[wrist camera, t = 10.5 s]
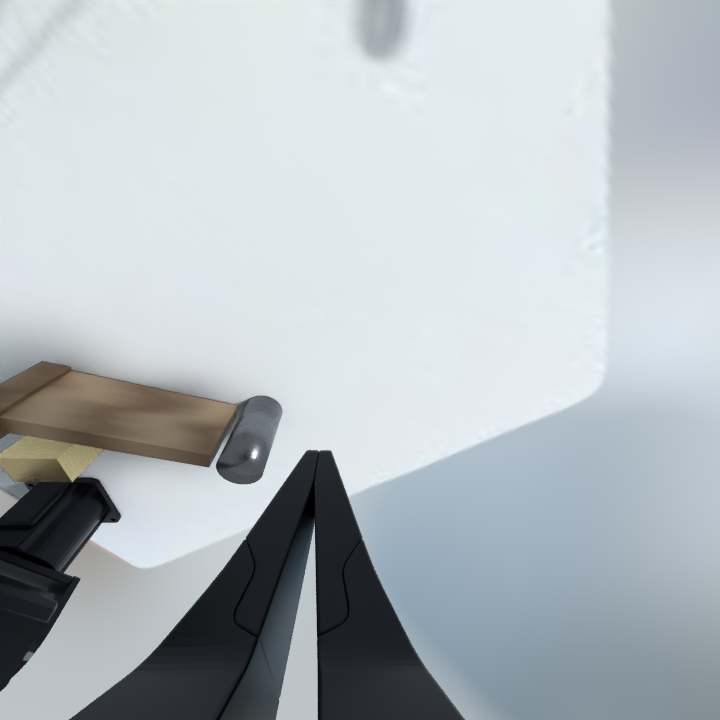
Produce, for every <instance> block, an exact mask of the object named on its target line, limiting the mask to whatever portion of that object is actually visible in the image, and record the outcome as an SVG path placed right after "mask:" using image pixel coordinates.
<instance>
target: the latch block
mask: <svg viewBox="0 0 720 720" xmlns="http://www.w3.org/2000/svg"><path fill="white" fill-rule="evenodd" d="M103 450H104V449H100V448H94V447H88V446H82V445H77V444H71V443H65V442H59V441H54V440H48V439H42V438H36V437H30V436H23V437H22V438H21V439H19V440H18V441H17V442H15V443H14V444H13V445H11V446H10V447H8V448H7V449H6V450H4V451H3V452H2V453H0V466H1V467H2V468H3V469H4V471H5V472H6V473H7V474H8V475H9V476H10V478H11V479H12V480H13V481H14V482H73V481H74V480H75V479H76V478H77V477H78V476H79V475H80V474H81V473H82V472H83V471H84V470H85V469H86V468H87V467H88V466H89V465H90V464H91V463H92V462H93V461H94V460H95V459H96V457H97V456H98V455H99V454H100V453H101V452H102V451H103Z"/></svg>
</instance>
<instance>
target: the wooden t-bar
mask: <svg viewBox="0 0 720 720" xmlns="http://www.w3.org/2000/svg"><path fill="white" fill-rule="evenodd" d="M236 411H237V405H232V404H227V403H222V402H218V401H213V400H208V399H203V398H198V397H194V396H189V395H184V394H179V393H175V392H170V391H165V390H160V389H156V388H151V387H146V386H141V385H137V384H132V383H127V382H122V381H118V380H113V379H108V378H103V377H99V376H94V375H89V374H84V373H80V372H75V371H72V370H71V367H67V366H62V365H57V364H52V363H48V362H43V361H42V362H40V363H39V364H37V365H35V366H33V367H31V368H29V369H27V370H25V371H24V372H22V373H20V374H18V375H16V376H14V377H12V378H11V379H9V380H7V381H5V382H3V383H1V384H0V439H1V438H2V437H4V436H5V435H7V434H8V433H13V434H19V435H25V436H30V437H36V438H42V439H48V440H54V441H59V442H65V443H71V444H77V445H82V446H88V447H94V448H100V449H106V450H111V451H117V452H123V453H129V454H134V455H140V456H146V457H152V458H158V459H163V460H169V461H175V462H181V463H186V464H192V465H198V466H204V467H210V465H211V463H212V461H213V459H214V457H215V455H216V453H217V451H218V450H219V448H220V446H221V444H222V442H223V440H224V438H225V436H226V434H227V432H228V431H229V429H230V427H231V425H232V423H233V421H234V419H235V417H236Z"/></svg>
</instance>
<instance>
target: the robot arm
mask: <svg viewBox="0 0 720 720" xmlns="http://www.w3.org/2000/svg"><path fill="white" fill-rule="evenodd" d="M25 485H26V487H27V488H28V489H29V490H30V491H29V492H28V493H27V494H26V495H25V496H24V497H22V498H21V499H20V500H19V501H18V502H17V503H16V504H15V505H14V506H13V507H12V508H10V509H9V510H8V511H7V512H6V513H5V514H4V515H3V516H2V517H1V518H0V691H1V690H3V689H4V688H5V687H6V686H7V684H8V683H9V681H10V679H11V678H12V677H13V676H14V675H15V674H16V673H17V672H18V671H19V670H20V669H21V668H22V667H23V666H24V665H25V664H26V663H27V662H28V660H29V659H30V658H31V657H32V656H33V654H34V653H35V652H36V650H37V649H38V648H39V647H40V645H41V644H42V642H43V641H44V639H45V638H46V637H47V635H48V633H49V632H50V630H51V628H52V627H53V625H54V623H55V622H56V620H57V618H58V617H59V615H60V613H61V611H62V610H63V608H64V606H65V605H66V603H67V601H68V600H69V598H70V596H71V594H72V593H73V591H74V589H75V588H76V586H77V584H78V582H79V581H80V578H79V577H76V576H74V577H72V576H69V575H67V574H64V572H65V571H66V569H67V568H68V567H69V565H70V564H71V563H72V561H73V560H74V559H75V557H76V556H77V555H78V553H79V552H80V551H81V549H82V548H83V547H84V546H85V544H86V543H87V542H88V540H89V539H90V538H91V537H92V535H93V534H94V533H95V531H96V530H97V529H98V527H99V526H100V525H101V523H116V522H118V521H119V520H120V518H121V516H120V514H119V512H118V511H117V509H116V507H115V506H114V504H113V503H112V501H111V499H110V498H109V496H108V495H107V493H106V491H105V490H104V488H103V486H102V485H101V483H100V482H99V481H98V480H96V479H75V480H74V481H73V482H25ZM314 524H315V551H316V552H315V553H316V603H317V655H318V656H317V658H318V720H465V719H464V718H463V717H462V715H461V714H460V712H459V711H458V710H457V709H456V707H455V706H454V704H453V703H452V702H451V700H450V699H449V698H448V697H447V695H446V694H445V693H444V691H443V690H442V689H441V687H440V686H439V685H438V683H437V682H436V681H435V679H434V678H433V677H432V675H431V674H430V673H429V671H428V670H427V669H426V667H425V666H424V664H423V663H422V661H421V660H420V658H419V656H418V654H417V653H416V651H415V649H414V648H413V646H412V644H411V642H410V640H409V638H408V636H407V635H406V633H405V631H404V629H403V627H402V625H401V623H400V621H399V619H398V617H397V615H396V613H395V611H394V609H393V607H392V605H391V603H390V601H389V599H388V597H387V595H386V593H385V591H384V589H383V587H382V584H381V582H380V580H379V578H378V576H377V574H376V571H375V569H374V567H373V564H372V562H371V560H370V556H369V554H368V552H367V549H366V546H365V543H364V541H363V540H362V535H361V532H360V529H359V527H358V524H357V521H356V518H355V516H354V513H353V510H352V507H351V504H350V502H349V499H348V496H347V493H346V490H345V488H344V485H343V482H342V479H341V476H340V474H339V471H338V468H337V465H336V463H335V460H334V457H333V454H332V452H331V451H330V450H321V451H318V450H307V451H306V452H305V454H304V455H303V457H302V458H301V459H300V461H299V462H298V464H297V465H296V467H295V468H294V469H293V471H292V472H291V474H290V475H289V477H288V478H287V479H286V481H285V482H284V484H283V485H282V487H281V488H280V489H279V491H278V492H277V494H276V495H275V497H274V498H273V499H272V501H271V502H270V504H269V505H268V507H267V508H266V509H265V511H264V512H263V514H262V515H261V517H260V518H259V519H258V521H257V522H256V524H255V525H254V527H253V528H252V529H251V531H250V532H249V534H248V535H247V537H246V540H244V541H243V542H242V544H241V545H240V546H239V548H238V549H237V551H236V552H235V553H234V555H233V556H232V558H231V559H230V561H229V562H228V563H227V564H226V566H225V567H224V568H223V570H222V571H221V572H220V573H219V575H218V576H217V577H216V579H215V580H214V581H213V582H212V583H211V585H210V586H209V587H208V588H207V590H206V591H205V592H204V593H203V594H202V595H201V597H200V598H199V599H198V600H197V601H196V602H195V604H194V605H193V606H192V607H191V609H190V610H189V611H188V612H187V613H186V614H185V616H184V617H183V618H182V619H181V620H180V622H179V623H178V624H177V625H176V626H175V627H174V628H173V630H172V631H171V632H170V633H169V635H168V636H167V637H166V638H165V639H164V640H163V641H162V643H161V644H160V645H159V646H158V647H157V648H156V649H155V650H154V651H153V652H152V654H151V655H150V656H149V657H148V658H146V660H144V661H143V662H142V663H141V664H140V665H139V666H138V667H137V668H136V669H134V670H133V671H132V672H131V673H130V674H129V675H127V676H126V677H125V678H123V679H122V680H121V681H119V682H118V683H117V684H115V685H114V686H113V687H112V688H110V689H109V690H108V691H106V692H105V693H104V694H102V695H101V696H100V697H98V698H97V699H96V700H94V701H93V702H92V703H90V704H89V705H88V706H87V707H85V708H84V709H83V710H81V711H80V712H79V713H78V714H76V715H75V716H73V717H72V718H71V719H69V720H276V715H277V710H278V704H279V698H280V694H281V689H282V684H283V679H284V674H285V669H286V664H287V659H288V654H289V649H290V644H291V639H292V634H293V629H294V624H295V619H296V614H297V609H298V604H299V599H300V594H301V589H302V584H303V579H304V574H305V569H306V564H307V559H308V554H309V549H310V544H311V539H312V534H313V529H314Z"/></svg>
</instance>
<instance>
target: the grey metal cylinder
mask: <svg viewBox="0 0 720 720" xmlns="http://www.w3.org/2000/svg"><path fill="white" fill-rule="evenodd" d="M281 416H282V407H281V405H280V404H279V403H278V402H277V401H276V400H274V399H273V398H271V397H267V396H256V397H253V398H251V399H250V400H249V401H248V402H247V404H246V406H245V408H244V410H243V412H242V414H241V416H240V418H239V420H238V422H237V424H236V426H235V428H234V430H233V432H232V434H231V436H230V438H229V440H228V441H227V443H226V445H225V447H224V449H223V451H222V453H221V455H220V457H219V459H218V461H217V464H216V468H217V471H218V473H219V474H220V475H221V476H222V477H223V478H224V479H226V480H228V481H230V482H233V483H237V484H251V483H254V482H256V481H258V480H259V479H260V478H261V477H262V475H263V472H264V469H265V466H266V463H267V459H268V456H269V453H270V450H271V447H272V444H273V441H274V438H275V435H276V431H277V428H278V425H279V422H280V419H281Z"/></svg>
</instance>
